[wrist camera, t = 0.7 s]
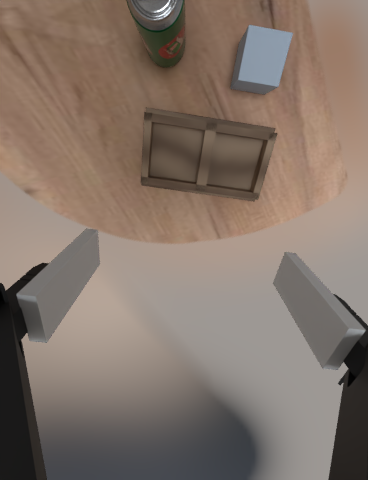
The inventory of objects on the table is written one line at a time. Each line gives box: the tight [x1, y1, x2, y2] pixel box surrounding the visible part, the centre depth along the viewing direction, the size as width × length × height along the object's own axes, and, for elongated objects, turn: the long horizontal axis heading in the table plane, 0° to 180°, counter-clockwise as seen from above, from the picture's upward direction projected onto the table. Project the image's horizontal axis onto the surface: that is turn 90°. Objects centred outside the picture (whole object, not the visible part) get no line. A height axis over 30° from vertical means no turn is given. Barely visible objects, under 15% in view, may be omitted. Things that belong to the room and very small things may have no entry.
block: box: [230, 25, 293, 95], centre depth 27 cm, size 5×5×5 cm
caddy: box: [141, 107, 277, 201], centre depth 33 cm, size 11×19×3 cm, turn 82°
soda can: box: [127, 0, 185, 67], centre depth 23 cm, size 5×5×12 cm
